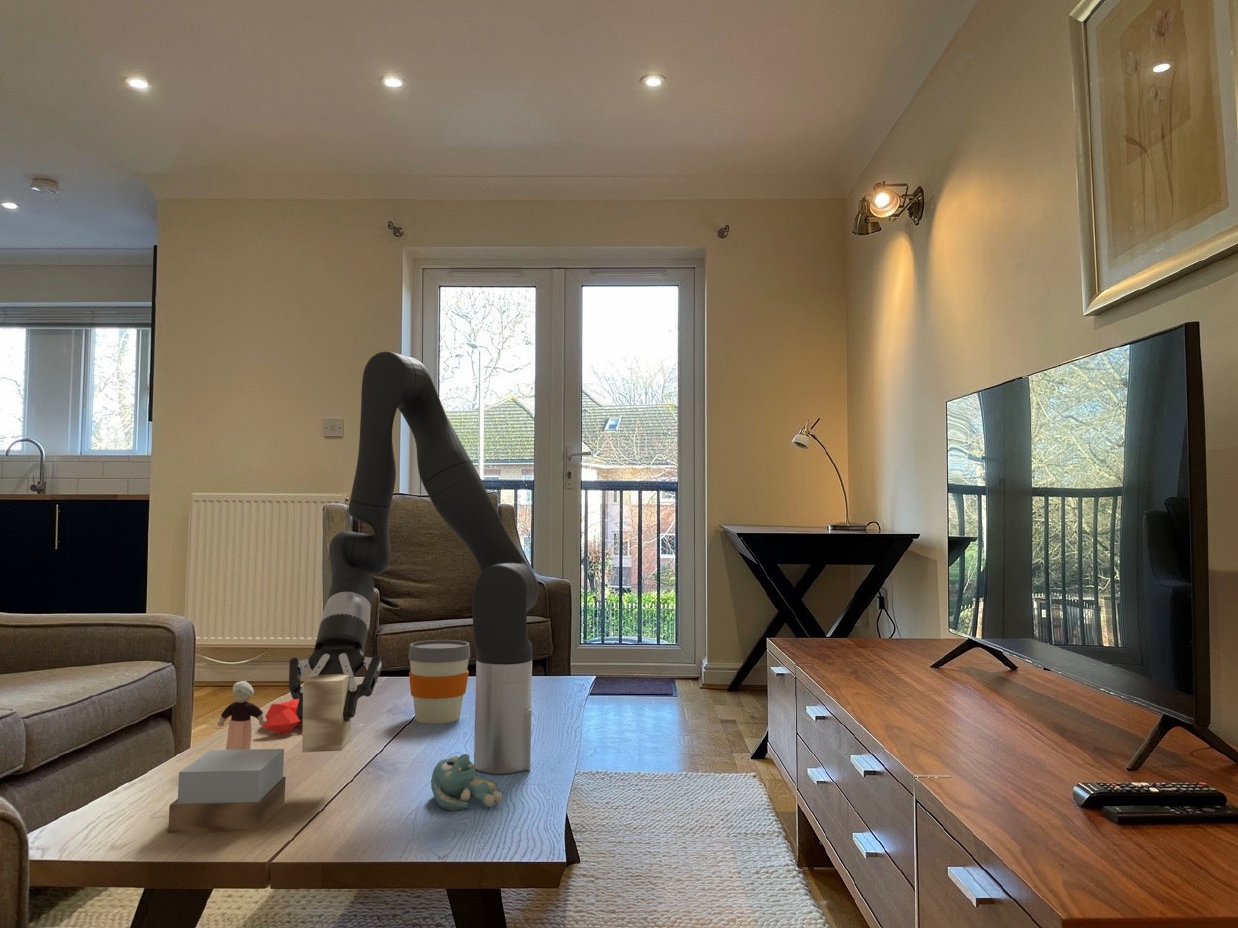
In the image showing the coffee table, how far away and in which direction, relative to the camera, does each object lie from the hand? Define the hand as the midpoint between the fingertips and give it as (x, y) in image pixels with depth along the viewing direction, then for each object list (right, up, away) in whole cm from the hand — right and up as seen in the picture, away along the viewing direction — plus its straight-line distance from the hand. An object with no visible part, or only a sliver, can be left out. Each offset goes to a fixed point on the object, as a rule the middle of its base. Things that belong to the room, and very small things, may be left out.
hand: (324, 719), depth 117 cm
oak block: (0, -4, +1) cm, 5 cm away
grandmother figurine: (-21, -12, +17) cm, 30 cm away
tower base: (-9, -11, -9) cm, 17 cm away
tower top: (-9, -7, -9) cm, 14 cm away
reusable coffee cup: (+6, -15, +47) cm, 49 cm away
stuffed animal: (+21, -11, -2) cm, 24 cm away
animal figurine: (-20, -14, +37) cm, 44 cm away
